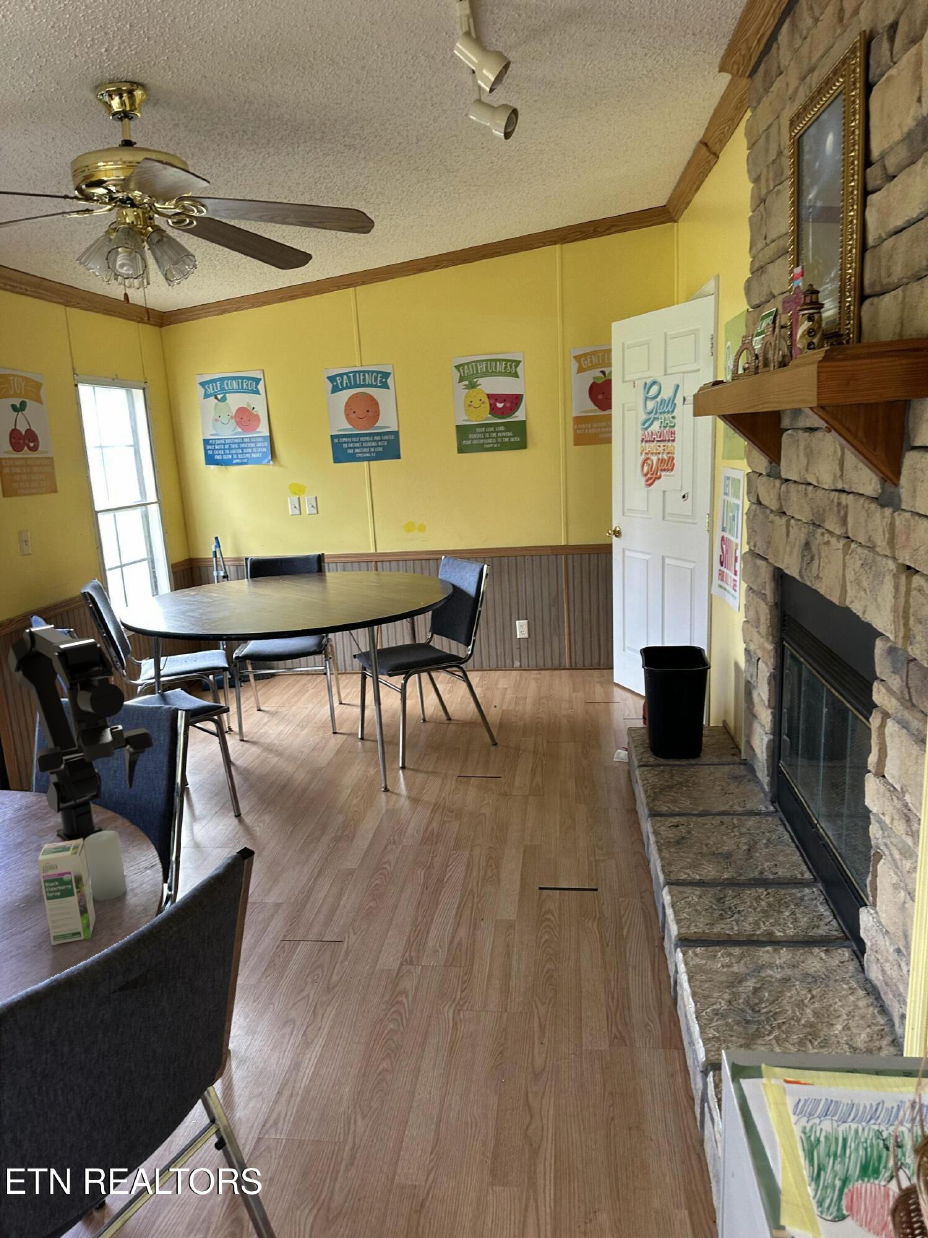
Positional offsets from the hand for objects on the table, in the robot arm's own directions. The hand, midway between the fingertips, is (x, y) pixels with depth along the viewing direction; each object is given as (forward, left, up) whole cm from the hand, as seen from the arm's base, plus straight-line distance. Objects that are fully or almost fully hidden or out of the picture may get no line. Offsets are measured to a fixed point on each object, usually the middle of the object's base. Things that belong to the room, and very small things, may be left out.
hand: (103, 795), depth 151 cm
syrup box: (+17, -15, -13) cm, 26 cm away
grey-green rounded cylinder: (+10, -6, -13) cm, 17 cm away
